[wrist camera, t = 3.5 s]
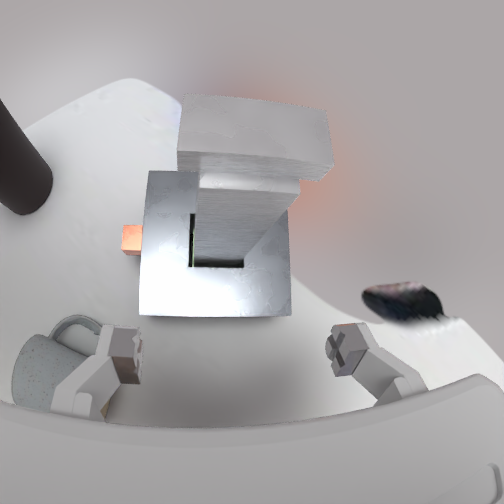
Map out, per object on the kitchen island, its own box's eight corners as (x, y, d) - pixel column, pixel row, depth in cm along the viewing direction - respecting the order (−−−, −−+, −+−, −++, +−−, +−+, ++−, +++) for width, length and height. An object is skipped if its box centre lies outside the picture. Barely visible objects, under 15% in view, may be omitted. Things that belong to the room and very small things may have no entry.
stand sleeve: (133, 314, 27) (118, 313, 21) (140, 196, 30) (131, 169, 24) (271, 316, 30) (292, 315, 24) (268, 202, 33) (286, 177, 27)
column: (184, 273, 29) (174, 169, 9) (185, 236, 30) (186, 81, 9) (237, 274, 30) (336, 181, 10) (237, 238, 31) (323, 98, 10)
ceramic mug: (109, 426, 24) (87, 454, 17) (40, 398, 23) (5, 414, 16) (128, 330, 27) (108, 332, 20) (57, 304, 26) (21, 297, 19)
